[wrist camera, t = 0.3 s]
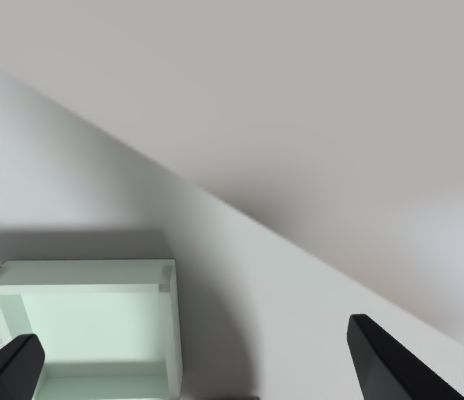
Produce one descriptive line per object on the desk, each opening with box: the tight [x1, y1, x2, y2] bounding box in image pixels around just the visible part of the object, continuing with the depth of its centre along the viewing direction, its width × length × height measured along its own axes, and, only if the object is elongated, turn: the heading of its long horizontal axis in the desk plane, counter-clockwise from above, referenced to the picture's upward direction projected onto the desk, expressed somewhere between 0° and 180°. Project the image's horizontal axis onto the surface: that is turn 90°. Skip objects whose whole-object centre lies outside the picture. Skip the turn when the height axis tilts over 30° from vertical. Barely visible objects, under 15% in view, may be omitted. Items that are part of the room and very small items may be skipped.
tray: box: [0, 259, 183, 400], centre depth 26 cm, size 13×13×3 cm
